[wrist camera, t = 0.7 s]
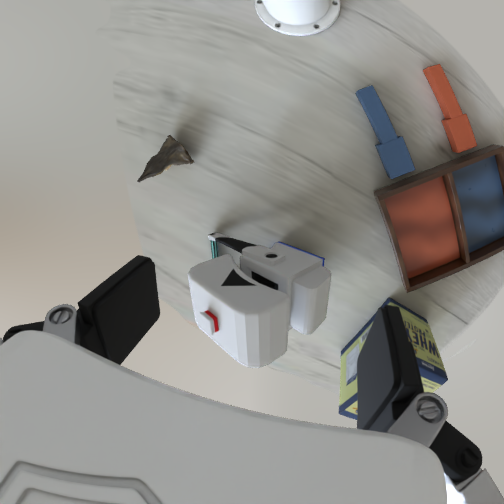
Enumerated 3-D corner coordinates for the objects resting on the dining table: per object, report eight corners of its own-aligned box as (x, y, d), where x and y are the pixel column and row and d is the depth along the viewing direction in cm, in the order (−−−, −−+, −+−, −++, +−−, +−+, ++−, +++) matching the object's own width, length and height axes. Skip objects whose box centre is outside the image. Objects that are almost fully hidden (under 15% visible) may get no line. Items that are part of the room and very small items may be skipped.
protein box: (427, 318, 43) (450, 379, 29) (378, 369, 50) (382, 430, 36) (388, 295, 43) (405, 359, 29) (339, 351, 50) (336, 416, 37)
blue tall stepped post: (350, 95, 32) (352, 92, 30) (374, 86, 31) (377, 83, 29) (388, 177, 36) (391, 179, 34) (410, 167, 34) (415, 170, 32)
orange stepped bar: (418, 71, 28) (423, 68, 26) (438, 66, 26) (443, 62, 24) (452, 151, 31) (459, 153, 29) (470, 144, 29) (478, 146, 27)
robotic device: (254, 219, 52) (154, 250, 40) (356, 253, 37) (244, 317, 25) (256, 269, 56) (166, 307, 44) (346, 314, 41) (248, 387, 29)
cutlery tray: (373, 191, 37) (376, 196, 34) (493, 144, 28) (503, 145, 25) (402, 283, 42) (406, 293, 39) (510, 235, 32) (518, 242, 29)
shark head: (171, 187, 45) (149, 197, 39) (149, 161, 44) (125, 167, 38) (201, 155, 41) (181, 160, 36) (177, 128, 40) (154, 129, 34)
